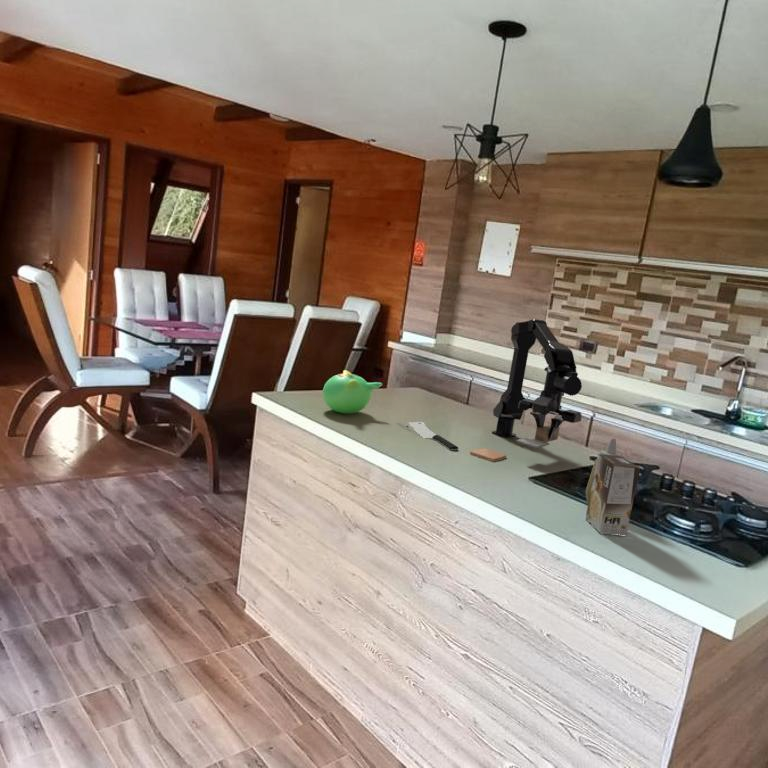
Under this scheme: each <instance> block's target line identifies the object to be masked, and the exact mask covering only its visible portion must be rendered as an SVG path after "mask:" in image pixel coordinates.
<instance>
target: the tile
mask: <svg viewBox="0 0 768 768" xmlns="http://www.w3.org/2000/svg"><path fill="white" fill-rule="evenodd" d="M469 454H470V455H471V456H474V457H478V458H481V459H483V460H487V461H490V462H491V463H492V462H497V461H500V460H503V459H507V455H506V454H503V453H501V452H498V451H494V450H491V449H488V448H485V447H483V448H480V449H475V450H470V452H469Z"/></svg>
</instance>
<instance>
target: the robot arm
mask: <svg viewBox="0 0 768 768" xmlns="http://www.w3.org/2000/svg"><path fill="white" fill-rule="evenodd" d="M510 330H511V331H510V332H511V334H510V335H511V336H510V337H511V338H510V339H511V343H512V346H513V354H512V358H511V359H512V360H511V366H510V371H509V378H508V381H507V382H508V383H507V388H506V390H504V391H503V393H502V394H501V395H500V399H499V402H498V403H497V404H496V405H495V407H494V408H493V411H492V413H493V414H492V415H493V416H494V417H495V418H498V419H497V422H496V429H495V430H493V431H491V433H492V434H494V435H498V436H501V437H504V438H511V437H512V438H513V437H516V436H517V434H516V433H513V432H514V426H515V420H518V421H519V420H520V421H521V419H522V416H523V414H524V413H525V412H524V411H528V410H530V409H531V412H529V414H530V415H532V416H533V417H534V420H535V423H536V429H537V428H539V427H543V426H545V421H546V417H547V415H548V414H550V415H553V416H554V417H551V418H550V421H551V423H550V425H551V427H550V431H549V437H548V439H551V438H552V436H553V435H554V433H555V432H556V430H557V429H558V427H560V426H561V425H562V423H564V422H568V423H572V424H574V423H579V422H581V421H582V417H583V416H582V413H581V411H578V410H577V411H576V410H574V409H566V410H561V409H562V405H561V403H562V399H563V397H564V396H565V395H568V396H572V397H573V396H576V395H578V394H579V393H580V392H581V390H582V388H583V387H582V386H583V384H582V380H581V379H580V378H579V377H578V375H579V373H578V372H577V365H576V362H575V361H576V360H575V358H574V356H575V355H574V353H573V351H572V349H570V348H569V347H568V346H567V345H564V344H563V343H561V342H560V341H558V339H557V337H555V335H554V333H553V332H552V330H551V329H550V328H549V325H548V324H547V321H545V320H543V319H536V318H535V319H534V318H532V319H530V320H526V321H520V322H519V321H518V322H516V323H515V324H514V325H512V327H511V329H510ZM536 341H537V342H538V343H539V344H540V346H541V347H542V348H543V350H544V355H543V357H544V360H545V362H546V364H547V366H546V367H544V371H545V372H546V375H545V382H544V387H543V390H541V392H540V395H539V396H538V397H536V398H535V399H534V400H533V399H529V398H526V397H524V394H523V393H522V391H523V385H524V378H525V374H526V373H525V372H526V367H527V360H528V358H529V357H528V356H529V352H530V350H531V349H532V348H533V346H534V345H535V343H536Z"/></svg>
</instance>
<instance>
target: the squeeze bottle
mask: <svg viewBox="0 0 768 768" xmlns="http://www.w3.org/2000/svg"><path fill="white" fill-rule="evenodd" d="M599 454H602V455H614V456H621V454H619V453H617V439H616V438H613V437H612V438H610V440H609V442H608V443H607V447H606V449H605V450H601V451H600V453H599ZM596 462H597V458H596V459H594V461H593V466H592V469H591V472H590V476H589V479H588V481H587V484H586V485H587V486H586V488H585V498H586V504H588V503H589V498H590V493H591V488H592V482H593V477H594V472H595V467H596Z"/></svg>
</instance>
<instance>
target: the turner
mask: <svg viewBox="0 0 768 768" xmlns="http://www.w3.org/2000/svg"><path fill="white" fill-rule="evenodd" d="M550 427H551V424H549V425H544V426H543V427H539V428H537V427H536V430H535V435H534V437H530V436H528V437H523V438H519V439H516V441H515V442H516V443H518V444H519V443H520V444H523V445H526V446H529V447H531V448H536V449H540V448H544V447H547V446H550V442H553V441H556V440H558V438H559V434H560V433H559V432H560V426H559V427H558V429H557V430H556V432H555V433H554V435H553V436H552V438H551V439H548V437H549V431H550Z"/></svg>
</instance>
